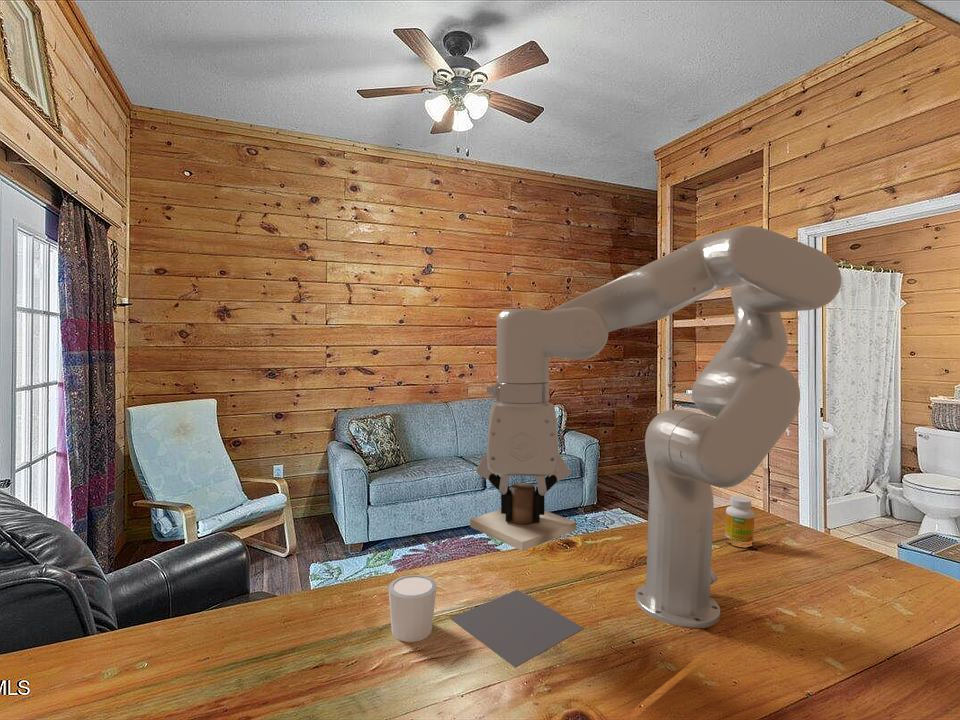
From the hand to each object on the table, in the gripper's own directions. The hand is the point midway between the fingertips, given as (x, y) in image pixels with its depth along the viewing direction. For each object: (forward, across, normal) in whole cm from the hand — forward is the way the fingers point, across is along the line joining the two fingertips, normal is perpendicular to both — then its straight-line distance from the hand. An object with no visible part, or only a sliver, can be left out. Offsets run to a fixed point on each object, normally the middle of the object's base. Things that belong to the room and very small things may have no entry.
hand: (522, 517), depth 73 cm
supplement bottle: (+18, +46, +36) cm, 61 cm away
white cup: (+16, -16, -4) cm, 23 cm away
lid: (+2, 0, 0) cm, 2 cm away
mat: (+16, -1, 0) cm, 16 cm away
